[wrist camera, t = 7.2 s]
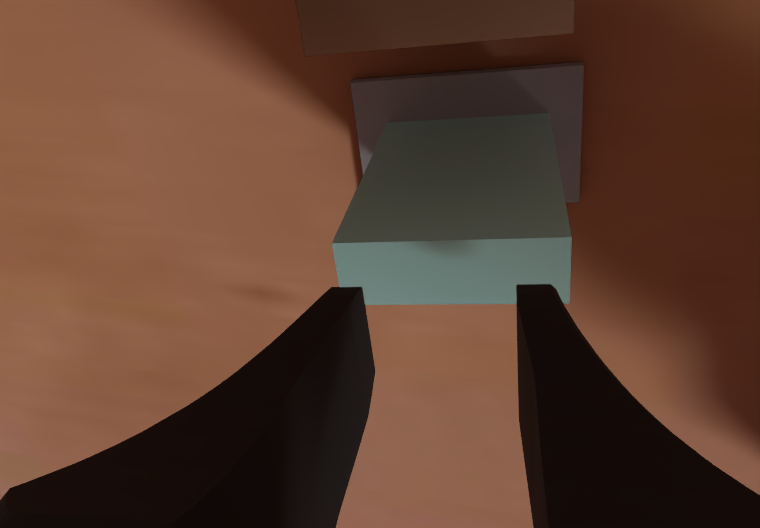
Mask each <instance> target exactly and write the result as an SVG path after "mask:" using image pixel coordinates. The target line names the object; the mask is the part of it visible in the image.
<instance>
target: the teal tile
mask: <svg viewBox="0 0 760 528" xmlns="http://www.w3.org/2000/svg"><path fill="white" fill-rule="evenodd" d="M571 246H572V236H571V230H570V225H569V219H568V214H567V208H566V203H565V197H564V192H563V186H562V181H561V175H560V169H559V164H558V158H557V153H556V147H555V142H554V136H553V131H552V125H551V120H550V114H549V113H540V114H523V115H507V116H490V117H474V118H457V119H441V120H425V121H408V122H392V123H387V125H386V127H385V129H384V131H383V133H382V136H381V138H380V140H379V142H378V144H377V146H376V149H375V151H374V153H373V155H372V157H371V159H370V162H369V164H368V166H367V168H366V170H365V172H364V175H363V177H362V179H361V181H360V183H359V185H358V188H357V190H356V192H355V194H354V196H353V198H352V201H351V203H350V205H349V207H348V209H347V211H346V214H345V216H344V218H343V220H342V222H341V225H340V227H339V229H338V231H337V233H336V235H335V238H334V240H333V242H332V247H333V253H334V259H335V265H336V270H337V276H338V282H339V287H362V289H363V295H364V302H365V305H405V304H517V297H516V285H519V284H551V285H552V286H553V287H555V288H556V289H557V291H558V294H559V296H560V298H561V300H562V302H563V303H570V278H571Z"/></svg>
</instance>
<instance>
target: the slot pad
mask: <svg viewBox="0 0 760 528" xmlns="http://www.w3.org/2000/svg"><path fill="white" fill-rule="evenodd" d="M583 83H584V63H583V62H571V63H558V64H545V65H533V66H520V67H507V68H494V69H481V70H468V71H455V72H443V73H430V74H417V75H404V76H391V77H378V78H366V79H353V80H352V81H351V82H350V86H351V93H352V100H353V107H354V114H355V121H356V129H357V136H358V143H359V150H360V157H361V164H362V171H363V175H364V172H365V170H366V168H367V166H368V164H369V162H370V159H371V157H372V155H373V153H374V151H375V149H376V146H377V144H378V142H379V140H380V138H381V136H382V133H383V131H384V129H385V127H386V125H387V123H392V122H408V121H425V120H441V119H457V118H474V117H490V116H507V115H523V114H540V113H549V114H550V120H551V125H552V131H553V136H554V142H555V147H556V153H557V158H558V164H559V169H560V175H561V181H562V186H563V192H564V197H565V203H579V202H580V172H581V142H582V113H583Z"/></svg>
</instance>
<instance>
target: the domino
mask: <svg viewBox="0 0 760 528" xmlns="http://www.w3.org/2000/svg"><path fill="white" fill-rule="evenodd" d="M295 1H296V7H297V13H298V18H299V24H300V30H301V36H302V42H303V48H304V54H305V56H316V55H328V54H340V53H351V52H363V51H374V50H386V49H398V48H409V47H421V46H432V45H444V44H456V43H467V42H479V41H490V40H502V39H514V38H525V37H537V36H548V35H560V34H572V33H574V5H575V0H295Z"/></svg>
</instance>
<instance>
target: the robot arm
mask: <svg viewBox="0 0 760 528" xmlns="http://www.w3.org/2000/svg"><path fill="white" fill-rule="evenodd" d="M516 297H517V349H518V395H519V423H520V430H521V438H522V445H523V453H524V460H525V467H526V475H527V482H528V489H529V497H530V504H531V511H532V519H533V526H534V528H760V495H758V494H757V493H755V492H754V491H752V490H750V489H749V488H747V487H746V486H744V485H743V484H741V483H740V482H738V481H737V480H735V479H734V478H732V477H731V476H729V475H728V474H726V473H725V472H723V471H722V470H720V469H719V468H717V467H716V466H714V465H713V464H712V463H710V462H709V461H708V460H706V459H705V458H704V457H702V456H701V455H700V454H698V453H697V452H696V451H695V450H693V449H692V448H691V447H689V446H688V445H687V444H686V443H684V442H683V441H682V440H681V439H679V438H678V437H677V436H675V435H674V434H673V433H672V432H671V431H669V430H668V429H667V428H666V427H665V426H664V425H663V424H662V423H660V422H659V421H658V420H657V419H656V418H655V417H654V416H653V415H652V414H651V413H650V412H649V411H648V410H647V409H645V408H644V407H643V406H642V405H641V404H640V403H639V402H638V401H637V400H636V399H635V398H634V397H633V396H632V395H631V393H630V392H629V391H628V390H627V389H626V388H625V387H624V386H623V385H622V384H621V383H620V381H619V380H618V379H617V378H616V377H615V376H614V374H613V373H612V372H611V371H610V370H609V369H608V367H607V366H606V365H605V364H604V363H603V361H602V360H601V359H600V358H599V356H598V355H597V354H596V352H595V351H594V350H593V348H592V347H591V345H590V344H589V343H588V341H587V340H586V339H585V337H584V336H583V335H582V333H581V332H580V330H579V329H578V327H577V326H576V324H575V323H574V321H573V319H572V318H571V316H570V314H569V313H568V311H567V309H566V308H565V306H564V304H563V302H562V300H561V298H560V296H559V294H558V291H557V289H556V288H555V287H553V286H552V285H551V284H519V285H516ZM374 376H375V367H374V360H373V354H372V347H371V341H370V334H369V328H368V321H367V315H366V308H365V302H364V295H363V289H362V287H331V288H330V289H329V290H328V291H327V292H326V293H324V294H323V295H322V296H321V297H320V298H319V299H318V300H317V301H316V302H315V303H314V304H313V305H312V306H311V307H310V308H309V309H308V310H307V311H305V312H304V313H303V314H302V315H301V316H300V317H299V318H298V319H297V320H296V321H295V322H294V323H293V324H292V325H291V326H289V327H288V328H287V329H286V330H285V331H284V332H283V333H282V334H281V335H280V336H279V337H277V338H276V339H275V340H274V341H273V342H272V343H271V344H270V345H268V346H267V347H266V348H265V349H264V350H262V351H261V352H260V353H259V354H257V355H256V356H255V357H254V358H253V359H251V360H250V361H249V362H248V363H247V364H245V365H244V366H243V367H242V368H241V369H239V370H238V371H237V372H236V373H234V374H233V375H232V376H230V377H229V378H228V379H226V380H225V381H223V382H222V383H221V384H219V385H218V386H217V387H215V388H214V389H212V390H211V391H209V392H208V393H206V394H205V395H203V396H202V397H200V398H199V399H197V400H196V401H194V402H193V403H191V404H190V405H188V406H186V407H185V408H183V409H181V410H179V411H178V412H176V413H174V414H172V415H171V416H169V417H167V418H165V419H164V420H162V421H160V422H159V423H157V424H155V425H153V426H152V427H150V428H148V429H146V430H145V431H143V432H141V433H139V434H137V435H135V436H133V437H131V438H129V439H127V440H125V441H123V442H121V443H119V444H117V445H115V446H113V447H111V448H108V449H106V450H104V451H102V452H100V453H98V454H95V455H93V456H91V457H89V458H86V459H84V460H82V461H79V462H77V463H75V464H72V465H70V466H67V467H65V468H62V469H60V470H57V471H54V472H52V473H49V474H47V475H44V476H42V477H39V478H36V479H34V480H31V481H29V482H26V483H23V484H21V485H18V486H15V487H12V488H10V489H9V490H8V491H7V493H6V494H5V495H4V496H3V497H2V499H1V500H0V528H336V524H337V520H338V516H339V512H340V509H341V506H342V502H343V499H344V496H345V492H346V489H347V486H348V483H349V479H350V476H351V473H352V469H353V466H354V463H355V459H356V456H357V453H358V449H359V446H360V443H361V439H362V436H363V432H364V429H365V425H366V422H367V418H368V414H369V408H370V402H371V396H372V389H373V382H374Z"/></svg>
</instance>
